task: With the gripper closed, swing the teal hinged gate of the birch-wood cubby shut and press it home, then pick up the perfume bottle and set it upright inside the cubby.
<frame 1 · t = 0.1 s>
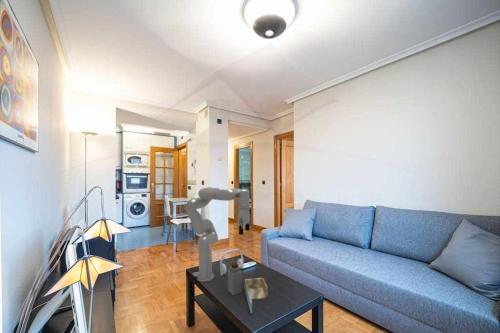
hand: (244, 232, 148), 37 cm above the table, tool pointing down, fingers open, 9 cm apart
headset: (231, 272, 169), on the table
cubby: (255, 293, 139), on the table
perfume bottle: (234, 291, 142), on the table
gate: (249, 301, 126), point 4 cm above the table, hinge at -90.0°
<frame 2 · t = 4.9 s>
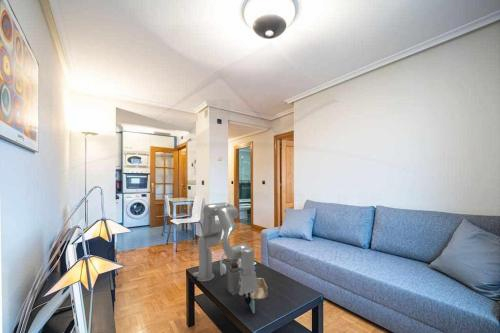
hand: (247, 302, 123), 4 cm above the table, tool pointing down, fingers closed
gate: (250, 300, 126), point 4 cm above the table, hinge at -83.7°, touching gripper
everything else where it was.
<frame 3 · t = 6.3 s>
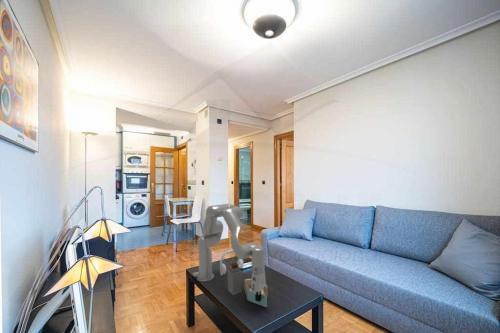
hand: (258, 300, 125), 4 cm above the table, tool pointing down, fingers closed
gate: (256, 298, 129), point 4 cm above the table, hinge at -40.8°, touching gripper
everything else where it was.
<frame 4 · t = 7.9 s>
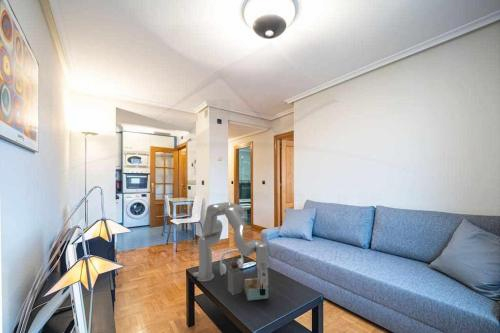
hand: (262, 294, 131), 4 cm above the table, tool pointing down, fingers closed
gate: (257, 294, 133), point 4 cm above the table, hinge at 1.4°, touching cubby, gripper
everything else where it was.
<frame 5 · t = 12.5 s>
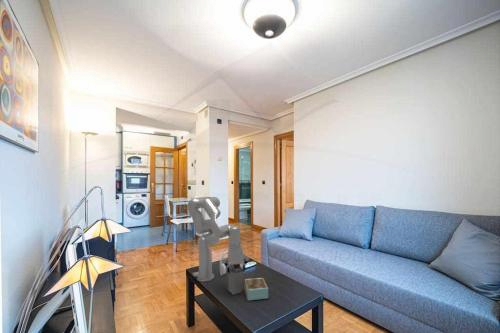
hand: (236, 272, 141), 13 cm above the table, tool pointing down, fingers open, 9 cm apart
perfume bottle: (234, 291, 142), on the table, touching gripper
gate: (257, 294, 133), point 4 cm above the table, hinge at 1.4°, touching cubby
everything else where it was.
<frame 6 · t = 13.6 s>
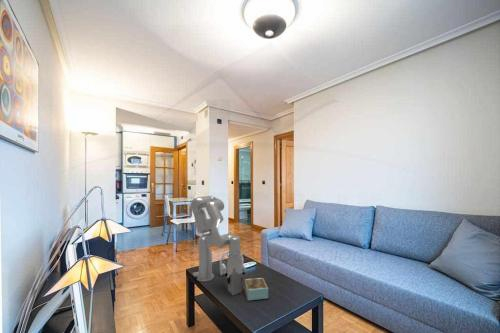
hand: (234, 282, 142), 6 cm above the table, tool pointing down, fingers closed on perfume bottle, 7 cm apart
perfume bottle: (234, 291, 142), on the table, touching gripper
everything else where it was.
when the fingers open (8 cm above the table, at t = 21.5 s): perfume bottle drops 1 cm, resting on cubby.
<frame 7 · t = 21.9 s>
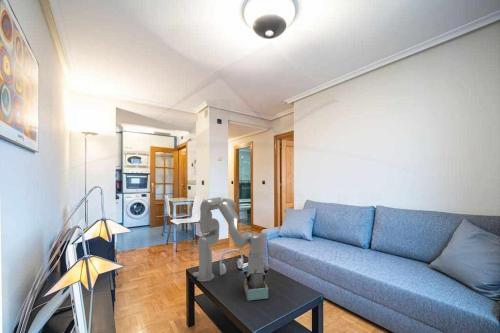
hand: (255, 280, 139), 8 cm above the table, tool pointing down, fingers open, 9 cm apart
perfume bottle: (255, 293, 139), resting on cubby
everything else where it was.
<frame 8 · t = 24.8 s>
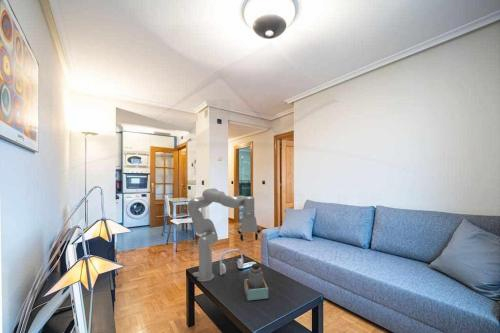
hand: (249, 240, 147), 32 cm above the table, tool pointing down, fingers open, 9 cm apart
nothing on the table moved.
at the end: gate at +1° (first picture: -90°); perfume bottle inside the target area on the cubby (0.2 cm from its centre), point 0.4 cm above the cubby's base; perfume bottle tilted 0° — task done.
